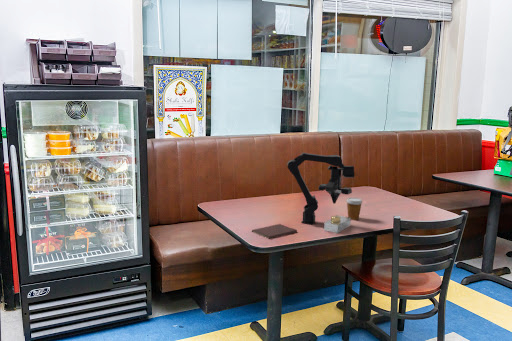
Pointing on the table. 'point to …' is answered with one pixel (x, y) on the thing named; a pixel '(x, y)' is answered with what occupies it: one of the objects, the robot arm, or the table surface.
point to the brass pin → (335, 219)
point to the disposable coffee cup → (354, 208)
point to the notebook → (274, 231)
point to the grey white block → (337, 224)
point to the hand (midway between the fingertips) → (334, 203)
